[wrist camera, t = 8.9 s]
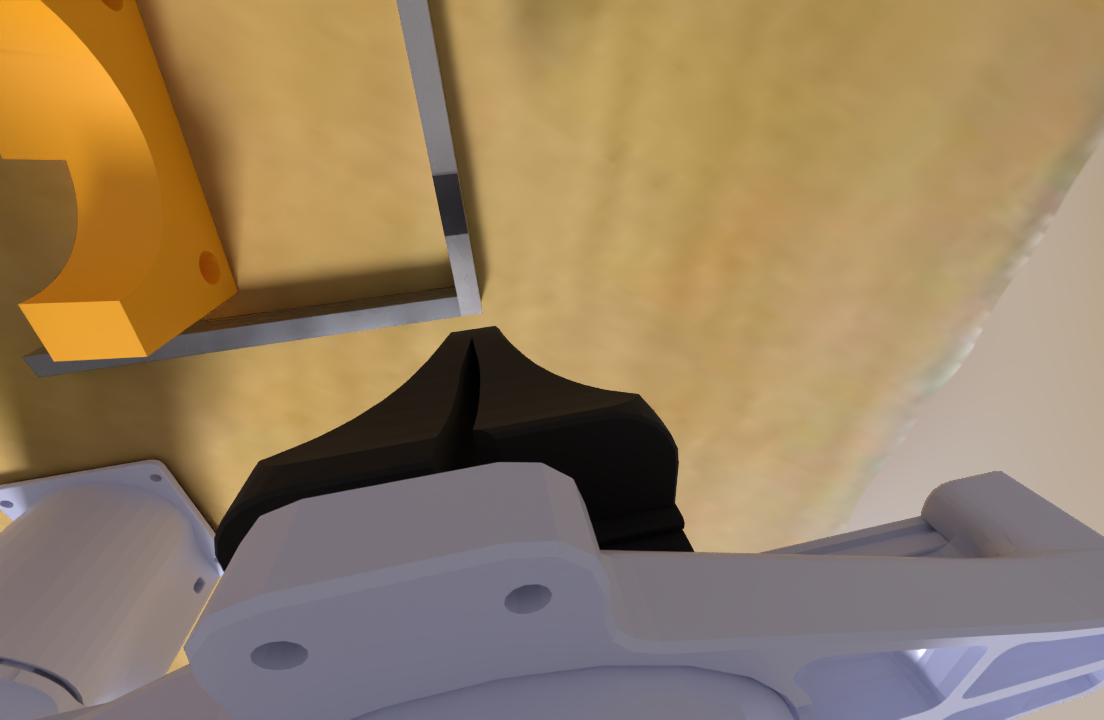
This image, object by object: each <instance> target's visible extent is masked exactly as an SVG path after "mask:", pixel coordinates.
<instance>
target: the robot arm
mask: <svg viewBox="0 0 1104 720" xmlns="http://www.w3.org/2000/svg"><path fill="white" fill-rule="evenodd" d="M678 465H679V461H678V448H677V446H676V444H675V442H674V439H673V437H672V435H671V434H670V432H669V431H668V429H667V428H666V426H665V425H664V423H663V422H662V420H661V419H660V418H659V417H658V415H657V414H656V413H655V412H654V410H653V409H652V408H651V407H650V406H649V405H648V404H647V403H646V402H645V401H644V400H643V398H642V397H641V396H640V395H639V394H634V393H626V392H618V391H610V390H604V389H599V388H595V387H591V386H587V385H583V384H580V383H576V382H573V381H571V380H568V379H565V378H563V377H560V376H558V375H556V374H553V373H551V372H549V371H548V370H546V369H544V368H542V367H540V366H538V365H537V364H535V363H534V362H532V361H531V360H530V359H528V358H527V357H526V356H524V355H523V354H522V353H521V352H520V351H519V350H518V349H516V348H515V347H514V346H513V345H512V344H511V343H510V342H509V341H508V340H507V339H506V337H505V336H504V335H503V334H502V332H501V331H500V329H499V328H497V327H496V326H491V327H485V328H478V329H471V330H465V331H458V332H451V333H450V334H449V336H448V337H447V338H446V339H445V341H444V342H443V343H442V344H441V346H440V347H439V348H438V349H437V350H436V352H435V353H434V354H433V355H432V356H431V357H430V359H429V360H428V361H427V362H426V363H425V364H424V365H423V366H422V367H421V368H420V369H419V370H418V371H417V372H416V373H415V374H414V375H413V376H412V377H411V378H410V379H409V380H408V381H407V382H406V383H404V384H403V385H402V386H401V387H400V388H398V389H397V390H396V391H395V392H393V393H392V394H391V395H389V396H388V397H387V398H385V399H384V400H383V401H381V402H380V403H378V404H377V405H375V406H373V407H372V408H370V409H369V410H367V411H365V412H364V413H362V414H361V415H359V416H358V417H356V418H354V419H353V420H351V421H349V422H347V423H345V424H343V425H341V426H340V427H338V428H336V429H334V430H332V431H330V432H328V433H326V434H324V435H322V436H320V437H317V438H315V439H313V440H311V441H308V442H306V443H304V444H301V445H299V446H296V447H294V448H291V449H289V450H286V451H284V452H281V453H279V454H276V455H274V456H272V457H269V458H266V459H263V460H261V461H259V462H258V464H257V465H256V466H255V468H254V469H253V471H252V473H251V474H250V476H249V477H248V479H247V481H246V482H245V484H244V485H243V487H242V489H241V490H240V492H239V493H238V495H237V497H236V498H235V500H234V501H233V503H232V505H231V506H230V508H229V509H228V511H227V513H226V514H225V516H224V517H223V519H222V521H221V523H220V525H219V527H218V530H217V532H216V534H215V533H214V531H213V530H212V528H211V527H210V526H209V524H208V523H207V522H206V520H205V519H204V518H203V516H202V515H201V513H200V512H199V511H198V509H197V508H196V507H195V505H194V504H193V503H192V501H191V500H190V499H189V497H188V496H187V494H186V493H185V492H184V490H183V489H182V488H181V486H180V485H179V484H178V482H177V481H176V479H175V478H174V477H173V475H172V474H171V473H170V471H169V470H168V469H167V467H166V466H165V465H164V464H163V463H162V462H161V461H158V460H144V461H138V462H133V463H127V464H121V465H115V466H109V467H103V468H97V469H91V470H85V471H80V472H74V473H68V474H62V475H56V476H50V477H44V478H38V479H32V480H27V481H21V482H15V483H9V484H3V485H0V510H1V511H3V512H4V513H5V514H6V515H7V516H8V517H9V518H10V519H11V520H12V521H13V522H12V523H11V524H10V525H8V526H7V527H6V528H5V529H4V530H3V531H1V532H0V720H1013V719H1015V718H1018V717H1021V716H1024V715H1027V714H1030V713H1032V712H1035V711H1038V710H1041V709H1044V708H1047V707H1050V706H1053V705H1056V704H1059V703H1063V702H1065V701H1069V700H1072V699H1075V698H1078V697H1081V696H1084V695H1088V694H1091V693H1094V692H1096V691H1097V690H1099V689H1100V688H1101V687H1103V686H1104V537H1103V536H1102V535H1100V534H1099V533H1097V532H1095V531H1094V530H1092V529H1091V528H1089V527H1088V526H1086V525H1085V524H1083V523H1082V522H1080V521H1078V520H1077V519H1075V518H1074V517H1072V516H1070V515H1069V514H1067V513H1066V512H1064V511H1063V510H1061V509H1060V508H1058V507H1057V506H1055V505H1053V504H1052V503H1050V502H1049V501H1047V500H1046V499H1044V498H1042V497H1041V496H1039V495H1038V494H1036V493H1035V492H1033V491H1032V490H1030V489H1028V488H1027V487H1025V486H1024V485H1022V484H1021V483H1019V482H1017V481H1016V480H1014V479H1013V478H1011V477H1010V476H1008V475H1006V474H1005V473H1003V472H1002V471H993V472H989V473H985V474H980V475H975V476H971V477H966V478H962V479H957V480H953V481H949V482H946V483H944V484H941V485H940V486H938V487H937V488H936V489H934V490H933V491H932V492H931V493H930V495H929V496H928V497H927V499H926V501H925V503H924V506H923V508H922V511H921V516H919V517H914V518H910V519H905V520H901V521H897V522H892V523H888V524H884V525H879V526H875V527H870V528H866V529H862V530H857V531H854V532H849V533H844V534H840V535H835V536H831V537H827V538H822V539H818V540H814V541H809V542H805V543H801V544H796V545H792V546H788V547H783V548H779V549H774V550H770V551H766V552H761V553H713V552H694V550H693V548H692V546H691V544H690V543H689V541H688V539H687V537H686V535H685V533H684V531H683V530H682V529H684V524H685V523H684V519H683V516H682V515H681V513H680V511H679V509H678V508H677V506H676V504H675V497H676V486H677V476H678ZM157 475H159V476H157ZM220 576H222V578H221V579H220V581H219V583H218V585H217V587H216V589H215V590H214V592H213V594H212V596H211V598H210V600H209V601H208V603H207V605H206V607H205V609H204V611H203V612H202V614H201V616H200V618H199V620H198V622H197V623H196V625H195V627H194V629H193V631H192V633H191V634H190V636H189V638H188V640H187V642H186V644H185V645H184V647H183V648H184V650H185V653H186V655H187V658H188V660H189V663H190V664H188V665H186V666H184V667H182V668H180V669H177V670H175V671H173V672H171V673H169V674H167V675H166V673H167V672H168V670H169V668H170V666H171V665H172V663H173V661H174V659H175V657H176V655H177V654H178V652H179V650H180V648H181V646H182V644H183V643H184V641H185V639H186V637H187V635H188V634H189V632H190V630H191V628H192V626H193V624H194V623H195V621H196V619H197V617H198V615H199V614H200V612H201V610H202V608H203V606H204V604H205V603H206V601H207V599H208V597H209V595H210V593H211V592H212V590H213V588H214V586H215V584H216V583H217V581H218V579H219V577H220Z"/></svg>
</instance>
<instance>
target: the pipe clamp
mask: <svg viewBox="0 0 1104 720" xmlns="http://www.w3.org/2000/svg"><path fill="white" fill-rule="evenodd" d="M0 154H1V156H2V158H3V159H31V160H66V162H67V165H68V168H69V171H70V174H71V177H72V180H73V184H74V189H75V193H76V200H77V208H78V225H77V235H76V240H75V244H74V247H73V250H72V253H71V256H70V258H69V260H68V262H67V264H66V266H65V267H64V269H63V270H62V272H61V273H60V274H59V276H58V277H57V278H56V279H55V280H54V281H53V282H52V283H51V284H50V285H49V286H48V287H46V288H45V289H44V290H43V291H41V292H40V293H38V294H37V295H35V296H33V297H32V298H30V299H28V300H26V301H24V302H21V303H19V304H18V305H19V307H20V308H21V310H22V312H23V313H24V315H25V316H26V318H27V319H28V321H29V323H30V324H31V326H32V327H33V329H34V331H35V332H36V334H37V335H38V337H39V338H40V340H41V342H42V343H43V345H44V346H45V348H46V350H47V351H48V353H49V354H50V356H51V357H52V359H53V361H54V362H56V361H75V360H93V359H112V358H131V357H148V356H149V355H150V354H152V353H153V352H155V351H156V350H157V349H159V348H160V347H162V346H163V345H164V344H166V343H167V342H169V341H170V340H171V339H173V338H174V337H176V336H177V335H178V334H180V333H181V332H183V331H184V330H185V329H187V328H188V327H190V326H191V325H192V324H194V323H195V322H197V321H198V320H199V319H201V318H202V317H204V316H205V315H206V314H208V313H209V312H211V311H212V310H213V309H215V308H216V307H218V306H219V305H220V304H222V303H223V302H225V301H226V300H227V299H229V298H230V297H232V296H233V295H234V294H236V293H237V292H238V290H237V287H236V284H235V281H234V278H233V275H232V273H231V270H230V267H229V264H228V261H227V258H226V256H225V253H224V250H223V247H222V244H221V241H220V239H219V236H218V233H217V230H216V227H215V224H214V222H213V219H212V216H211V213H210V210H209V207H208V205H207V202H206V199H205V196H204V193H203V190H202V188H201V185H200V182H199V179H198V176H197V174H196V171H195V168H194V165H193V162H192V159H191V157H190V154H189V151H188V148H187V145H186V142H185V140H184V137H183V134H182V131H181V128H180V125H179V123H178V120H177V117H176V114H175V111H174V108H173V106H172V103H171V100H170V97H169V94H168V91H167V89H166V86H165V83H164V80H163V77H162V74H161V72H160V69H159V66H158V63H157V60H156V57H155V55H154V52H153V49H152V46H151V43H150V41H149V38H148V35H147V32H146V29H145V26H144V24H143V21H142V18H141V15H140V12H139V9H138V7H137V4H136V1H135V0H0Z"/></svg>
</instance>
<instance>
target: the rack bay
mask: <svg viewBox="0 0 1104 720" xmlns="http://www.w3.org/2000/svg"><path fill="white" fill-rule="evenodd" d="M396 1H397V6H398V10H399V15H400V20H401V25H402V30H403V35H404V40H405V44H406V49H407V54H408V59H409V64H410V69H411V74H412V78H413V83H414V88H415V93H416V98H417V103H418V108H419V112H420V117H421V122H422V127H423V132H424V137H425V142H426V146H427V151H428V156H429V161H430V166H431V171H432V177H433V182H434V186H435V191H436V196H437V201H438V206H439V211H440V216H441V220H442V225H443V230H444V235H445V239H446V244H447V249H448V253H449V258H450V263H451V268H452V273H453V278H454V283H455V287H448V288H441V289H433V290H426V291H419V292H411V293H404V294H397V295H389V296H382V297H375V298H367V299H360V300H353V301H345V302H338V303H331V304H323V305H316V306H309V307H301V308H294V309H287V310H279V311H272V312H265V313H257V314H250V315H243V316H235V317H228V318H221V319H213V320H206V321H199V322H195V323H194V324H192V325H191V326H190V327H188V328H187V329H185V330H184V331H183V332H181V333H180V334H178V335H177V336H176V337H174V338H173V339H171V340H170V341H169V342H167V343H166V344H164V345H163V346H162V347H160V348H159V349H157V350H156V351H155V352H153V353H152V354H150V355H149V356H148V357H131V358H112V359H93V360H75V361H56V362H54V361H53V359H52V357H51V356H50V354H49V353H48V351H47V350H46V348H45V346H43V347H41V348H39V349H37V350H35V351H33V352H31V353H29V354H27V355H25V356H24V357H22V358H23V359H24V360H25V361H26V363H27V364H28V365H29V366H30V367H31V369H32V370H33V371H34V372H35V373H36V375H37V376H38V377H45V376H52V375H59V374H66V373H73V372H80V371H87V370H94V369H101V368H108V367H114V366H121V365H128V364H135V363H142V362H149V361H156V360H163V359H170V358H177V357H184V356H190V355H197V354H204V353H211V352H218V351H225V350H232V349H239V348H246V347H253V346H260V345H266V344H273V343H280V342H287V341H294V340H301V339H308V338H315V337H322V336H329V335H335V334H342V333H349V332H356V331H363V330H370V329H377V328H384V327H391V326H398V325H405V324H411V323H418V322H425V321H432V320H439V319H446V318H453V317H460V316H467V315H474V314H480V313H482V304H481V297H480V292H479V286H478V280H477V275H476V269H475V263H474V258H473V252H472V246H471V241H470V235H469V229H468V224H467V218H466V212H465V207H464V201H463V195H462V190H461V184H460V178H459V173H458V167H457V162H456V156H455V150H454V145H453V139H452V133H451V128H450V122H449V116H448V111H447V105H446V99H445V94H444V88H443V82H442V77H441V71H440V65H439V60H438V54H437V48H436V43H435V37H434V31H433V26H432V20H431V14H430V9H429V3H428V0H396Z"/></svg>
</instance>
